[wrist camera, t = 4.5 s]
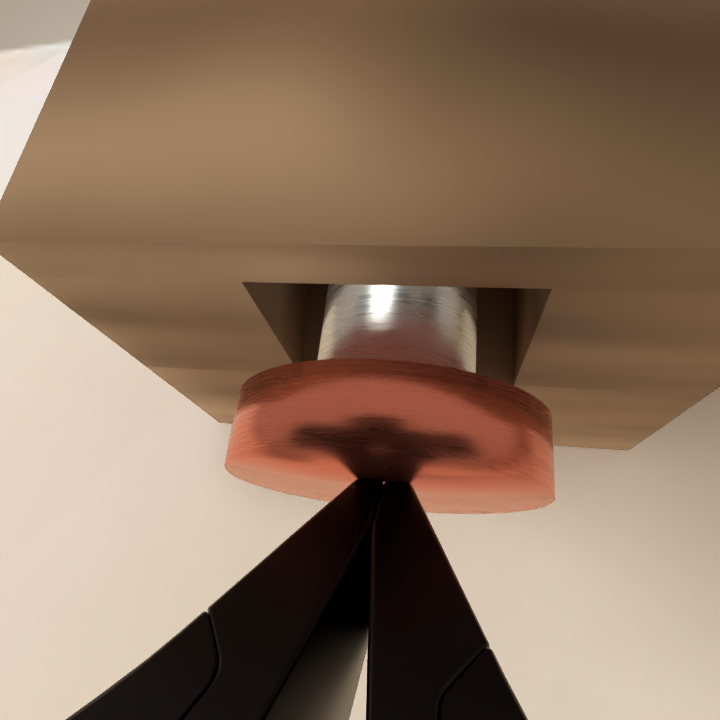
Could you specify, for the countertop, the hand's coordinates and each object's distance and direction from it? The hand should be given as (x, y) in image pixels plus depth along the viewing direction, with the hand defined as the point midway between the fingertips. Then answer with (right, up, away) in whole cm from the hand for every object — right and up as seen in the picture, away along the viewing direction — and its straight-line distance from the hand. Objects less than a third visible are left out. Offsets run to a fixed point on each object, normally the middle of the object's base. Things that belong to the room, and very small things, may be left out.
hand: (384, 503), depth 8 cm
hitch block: (+2, +4, +9) cm, 10 cm away
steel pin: (+1, +6, +6) cm, 9 cm away
